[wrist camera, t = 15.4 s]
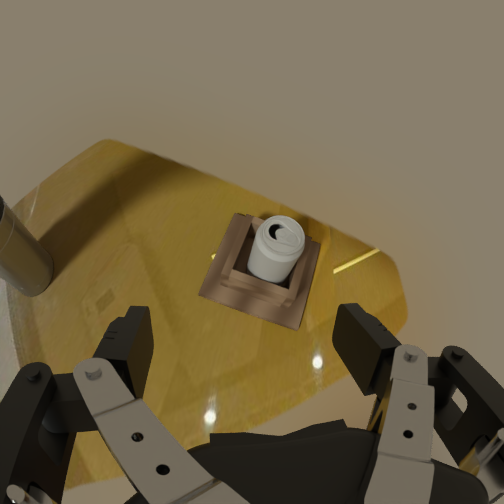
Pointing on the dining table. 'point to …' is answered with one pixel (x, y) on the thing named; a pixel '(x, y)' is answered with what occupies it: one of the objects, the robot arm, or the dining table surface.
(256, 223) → the well
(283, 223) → the beverage can
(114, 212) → the dining table surface
